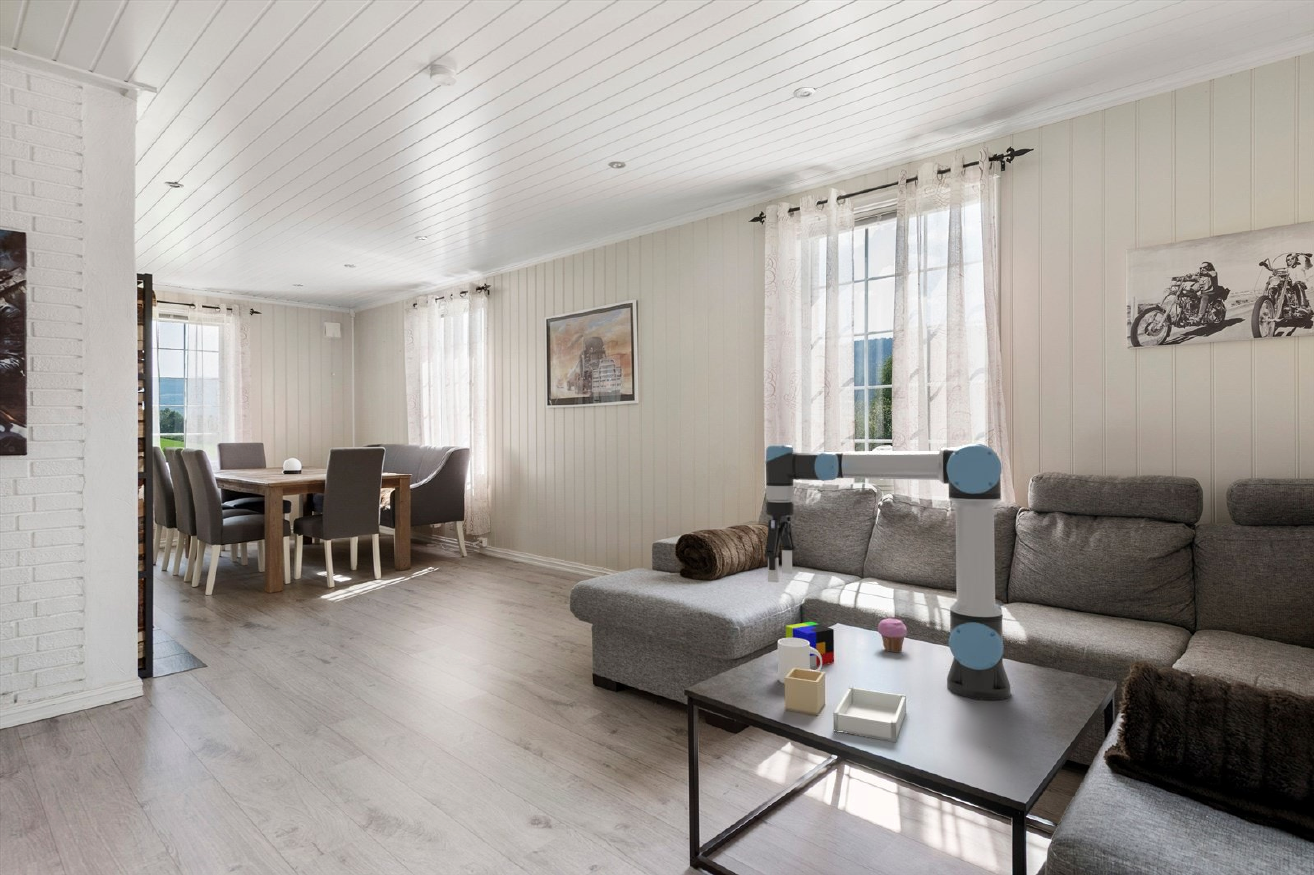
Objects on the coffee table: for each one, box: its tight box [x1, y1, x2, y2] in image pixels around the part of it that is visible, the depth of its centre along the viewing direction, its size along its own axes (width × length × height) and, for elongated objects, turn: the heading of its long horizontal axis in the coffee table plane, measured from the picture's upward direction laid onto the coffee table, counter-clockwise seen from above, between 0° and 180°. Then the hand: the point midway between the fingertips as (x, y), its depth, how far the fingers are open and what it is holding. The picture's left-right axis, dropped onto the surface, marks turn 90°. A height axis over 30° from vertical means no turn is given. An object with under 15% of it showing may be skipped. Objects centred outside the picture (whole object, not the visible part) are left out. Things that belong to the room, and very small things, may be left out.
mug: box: [777, 637, 823, 685], centre depth 189 cm, size 9×12×11 cm
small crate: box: [784, 668, 826, 717], centre depth 170 cm, size 8×8×8 cm
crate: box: [833, 686, 907, 743], centre depth 161 cm, size 13×19×4 cm
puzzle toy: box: [785, 621, 835, 668], centre depth 206 cm, size 10×10×10 cm
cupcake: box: [877, 618, 908, 653], centre depth 216 cm, size 9×9×10 cm
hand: (780, 577), depth 191 cm, fingers open, 13 cm apart
